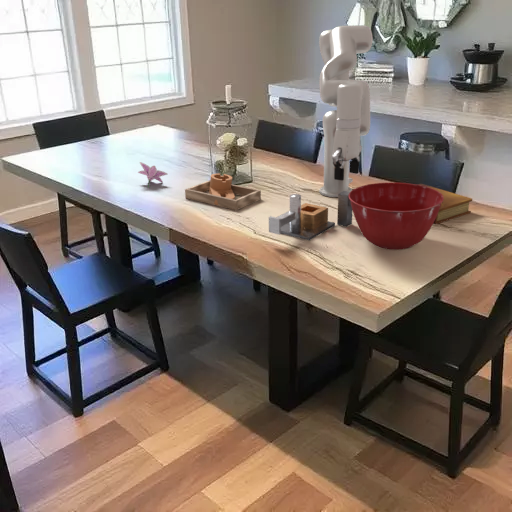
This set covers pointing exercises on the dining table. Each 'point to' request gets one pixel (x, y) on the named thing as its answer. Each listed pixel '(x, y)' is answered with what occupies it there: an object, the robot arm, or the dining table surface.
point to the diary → (451, 205)
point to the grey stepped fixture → (301, 220)
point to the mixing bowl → (395, 213)
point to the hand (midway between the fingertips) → (346, 176)
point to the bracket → (221, 186)
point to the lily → (152, 173)
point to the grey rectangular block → (344, 209)
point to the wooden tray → (247, 193)
